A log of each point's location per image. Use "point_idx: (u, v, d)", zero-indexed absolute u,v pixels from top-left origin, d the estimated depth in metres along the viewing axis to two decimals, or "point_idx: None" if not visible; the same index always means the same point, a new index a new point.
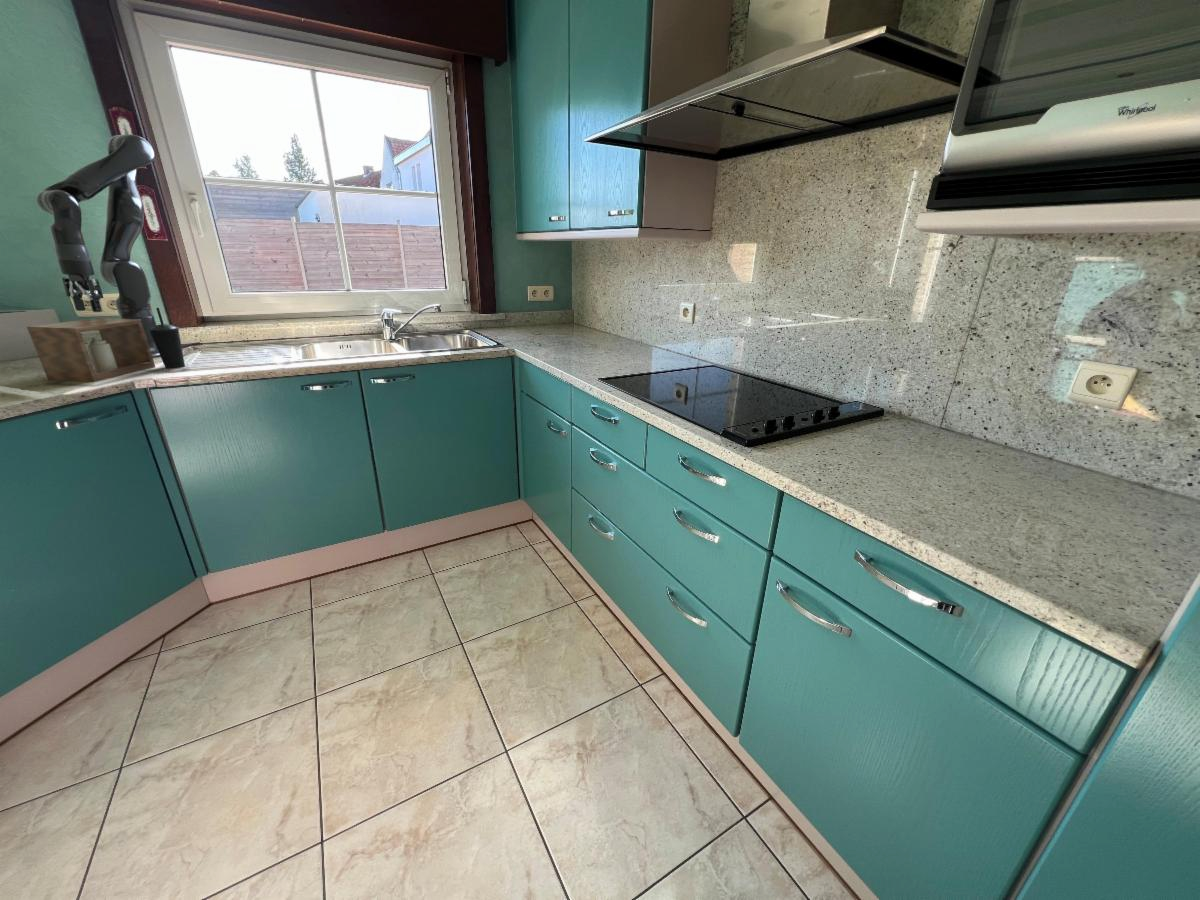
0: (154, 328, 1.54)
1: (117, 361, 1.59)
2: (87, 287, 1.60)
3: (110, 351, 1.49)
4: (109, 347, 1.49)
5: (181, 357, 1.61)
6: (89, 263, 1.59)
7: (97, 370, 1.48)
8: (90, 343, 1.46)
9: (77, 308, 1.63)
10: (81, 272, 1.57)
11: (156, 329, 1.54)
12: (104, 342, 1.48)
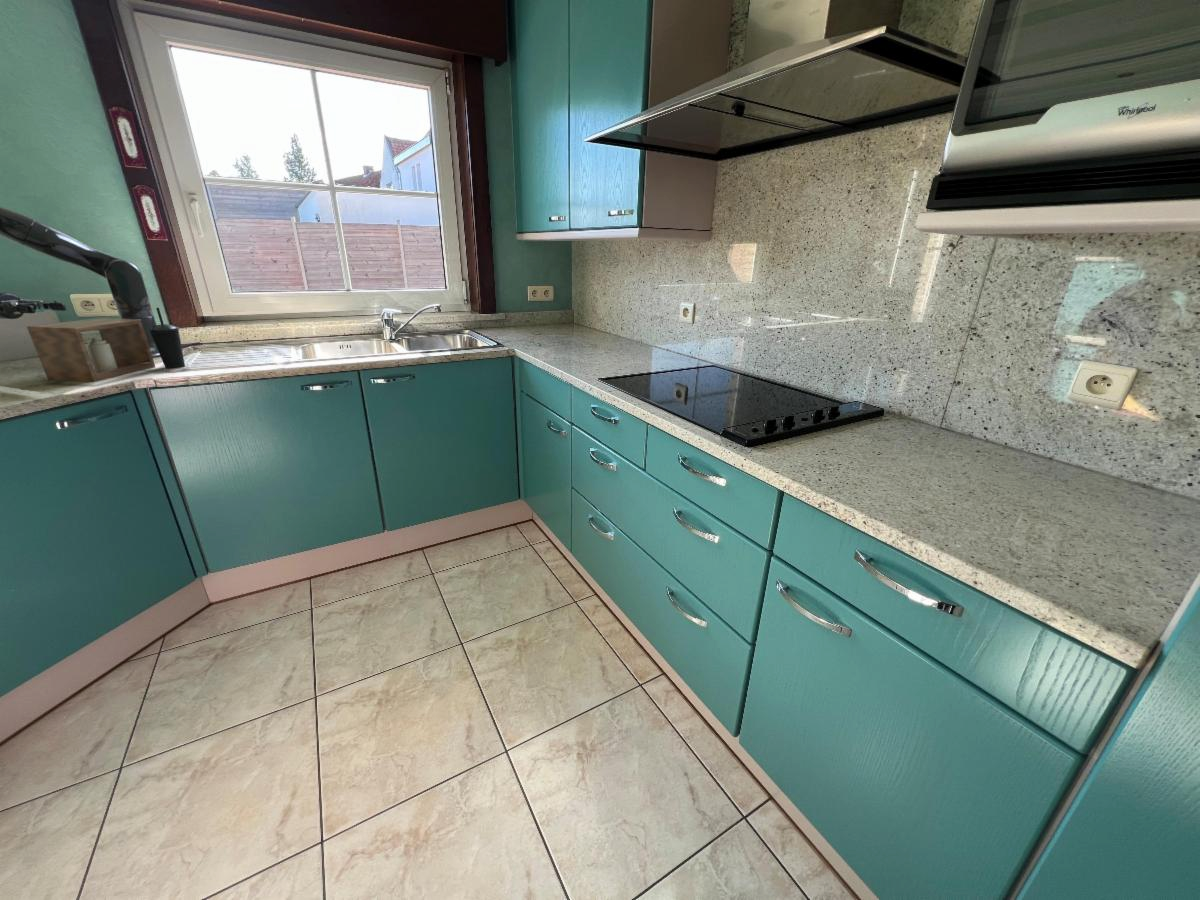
0: (154, 328, 1.54)
1: (117, 361, 1.59)
2: None
3: (110, 351, 1.49)
4: (109, 347, 1.49)
5: (181, 357, 1.61)
6: None
7: (97, 370, 1.48)
8: (90, 343, 1.46)
9: (62, 310, 1.49)
10: None
11: (156, 329, 1.54)
12: (104, 342, 1.48)
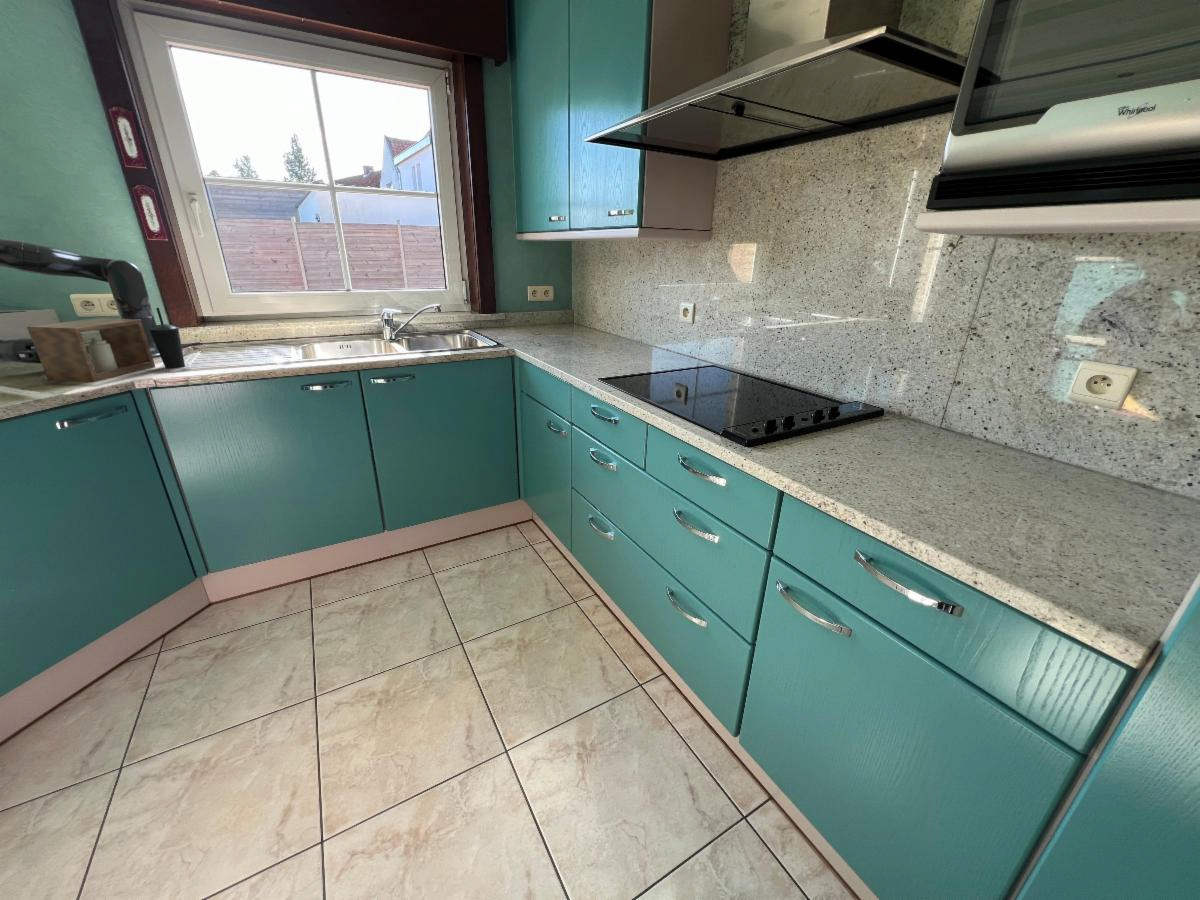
0: (154, 328, 1.54)
1: (117, 361, 1.59)
2: None
3: (110, 351, 1.49)
4: (109, 347, 1.49)
5: (181, 357, 1.61)
6: (14, 345, 1.46)
7: (97, 370, 1.48)
8: (90, 343, 1.46)
9: (88, 352, 1.53)
10: None
11: (156, 329, 1.54)
12: (104, 342, 1.48)
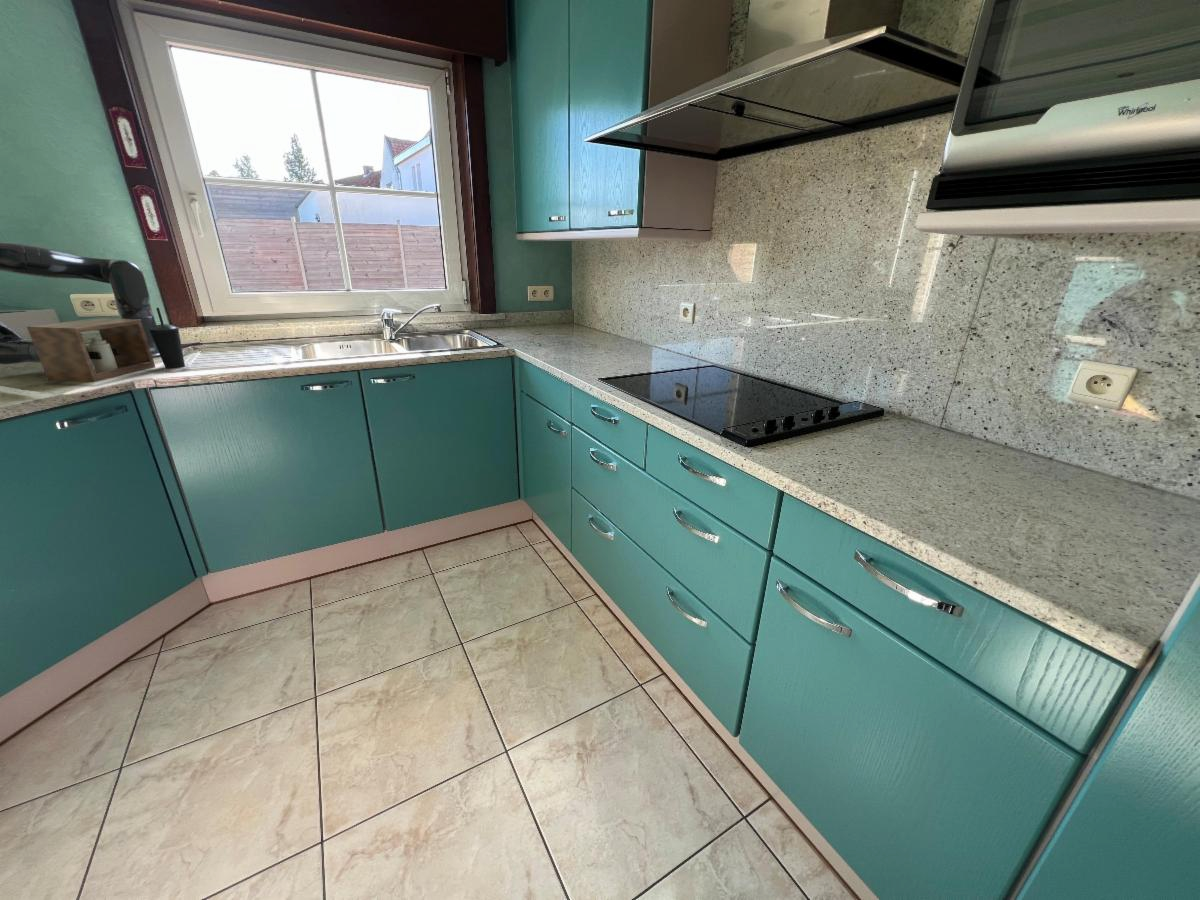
0: (154, 328, 1.54)
1: (117, 361, 1.59)
2: None
3: (110, 351, 1.49)
4: (109, 347, 1.49)
5: (181, 357, 1.61)
6: None
7: (97, 370, 1.48)
8: (90, 343, 1.46)
9: (116, 355, 1.52)
10: None
11: (156, 329, 1.54)
12: (104, 342, 1.48)
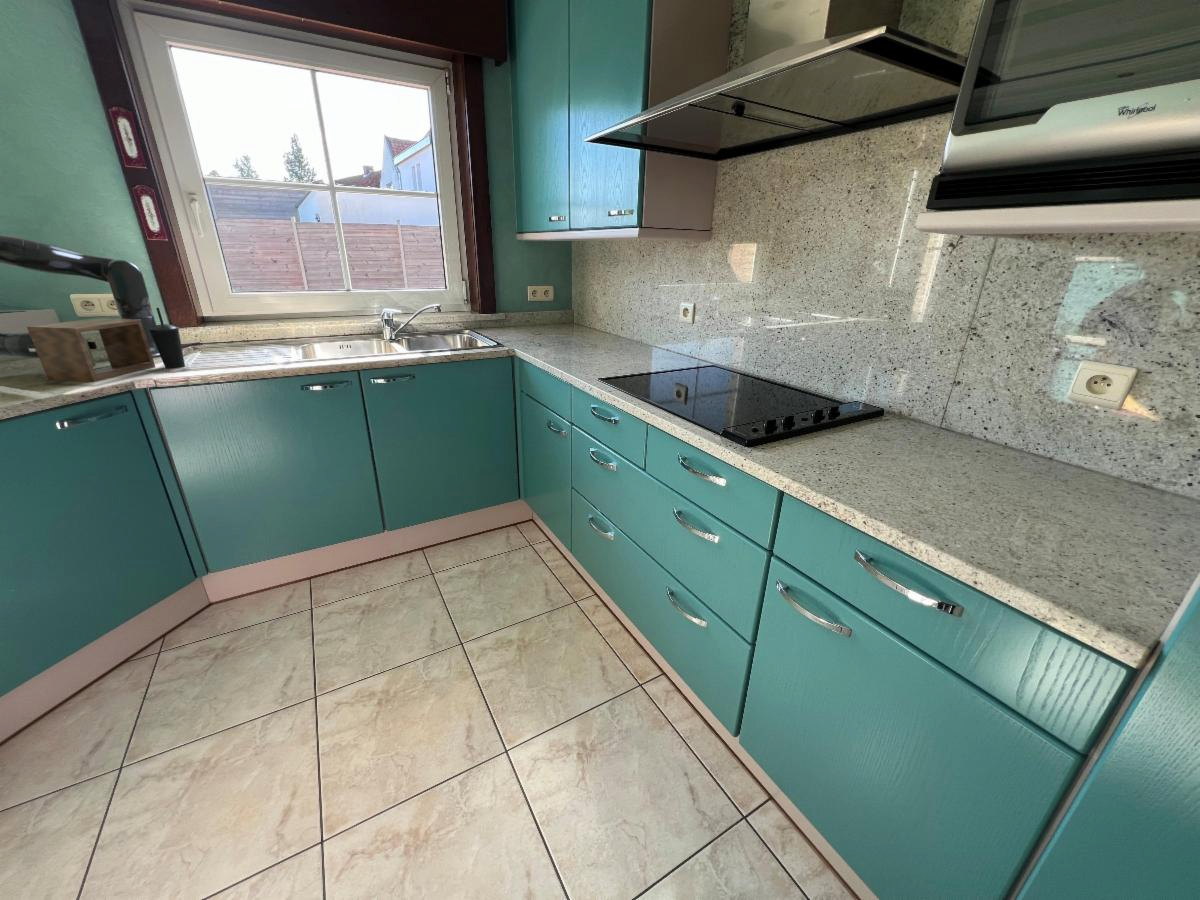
0: (154, 328, 1.54)
1: (117, 361, 1.59)
2: None
3: (86, 344, 1.49)
4: (85, 340, 1.49)
5: (181, 357, 1.61)
6: (20, 340, 1.45)
7: None
8: None
9: (92, 348, 1.51)
10: None
11: (156, 329, 1.54)
12: None
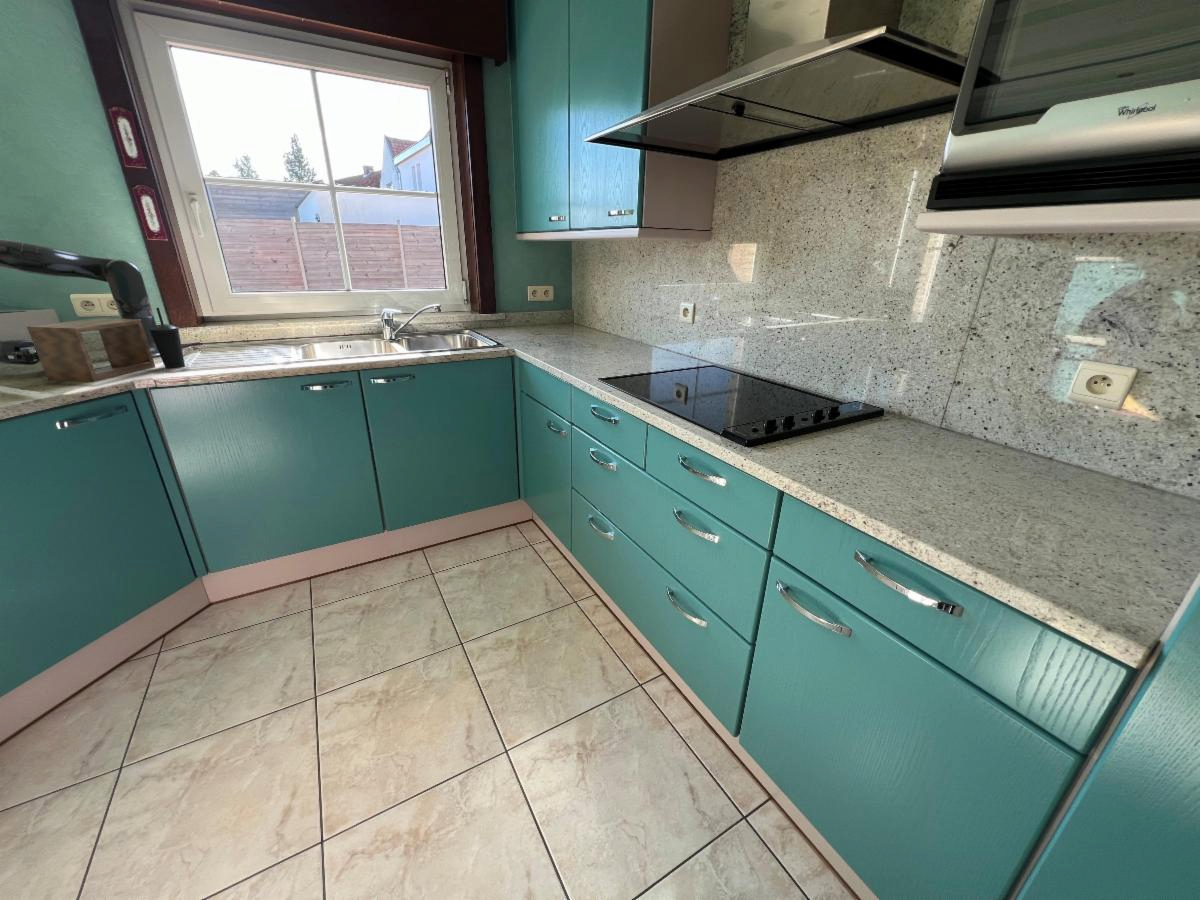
0: (154, 328, 1.54)
1: (117, 361, 1.59)
2: None
3: None
4: None
5: (181, 357, 1.61)
6: (3, 347, 1.46)
7: None
8: None
9: None
10: None
11: (156, 329, 1.54)
12: None
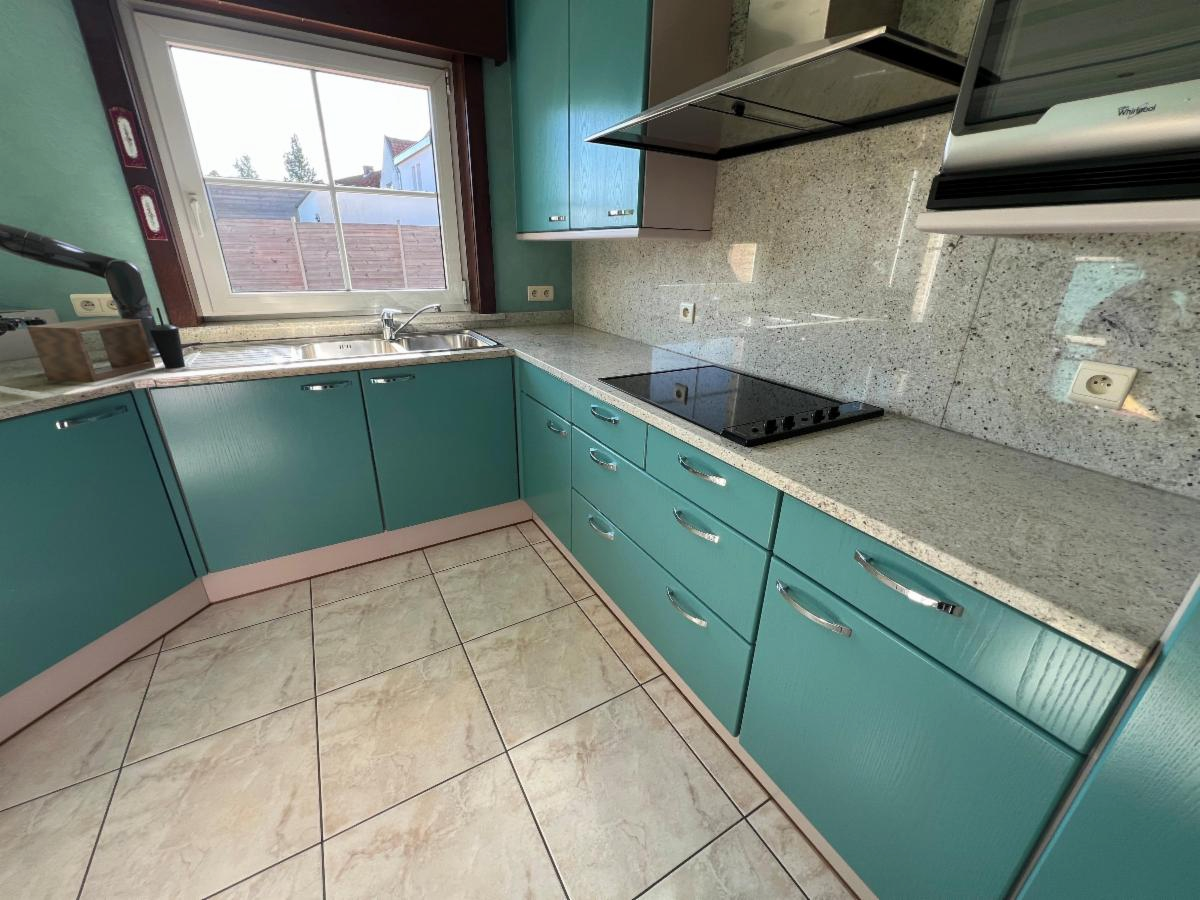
0: (154, 328, 1.54)
1: (117, 361, 1.59)
2: None
3: None
4: None
5: (181, 357, 1.61)
6: None
7: None
8: None
9: None
10: None
11: (156, 329, 1.54)
12: None
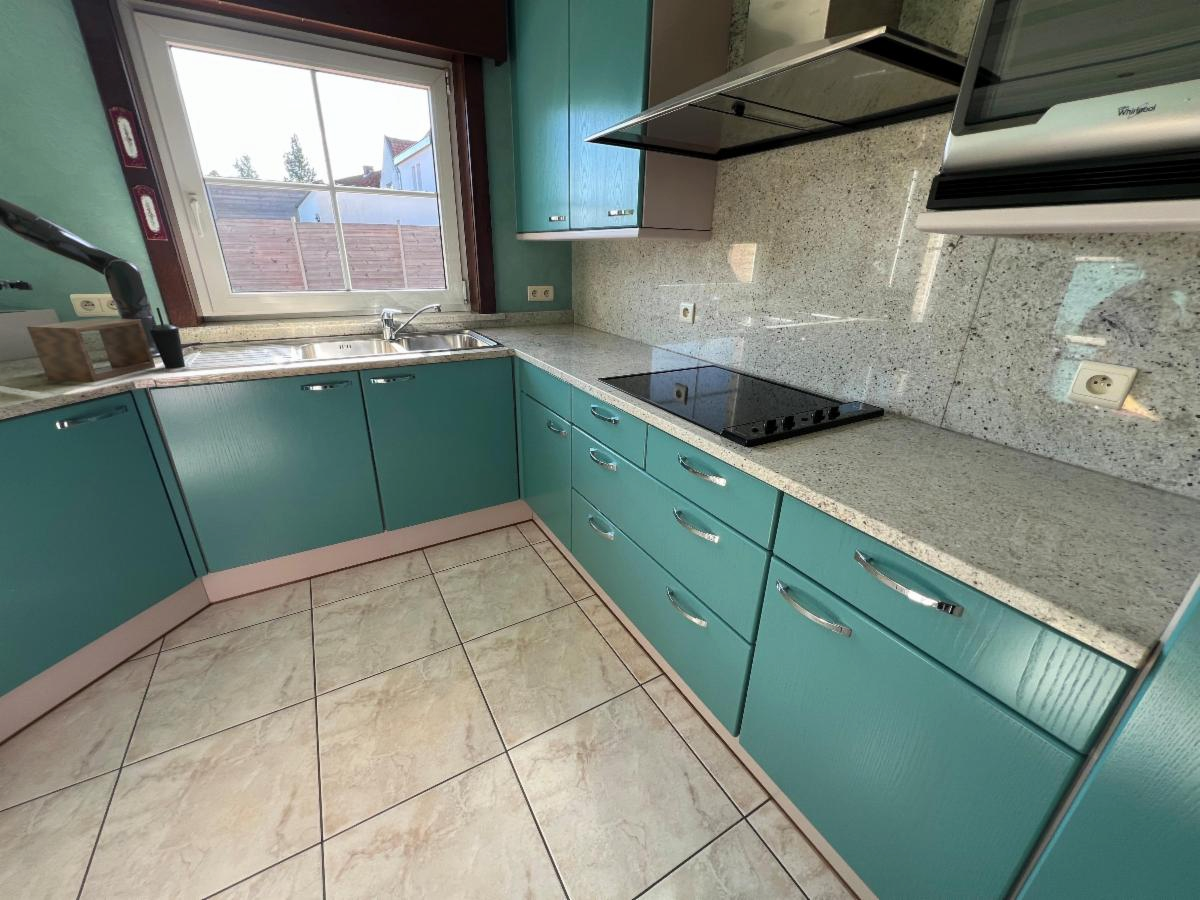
0: (154, 328, 1.54)
1: (117, 361, 1.59)
2: None
3: None
4: None
5: (181, 357, 1.61)
6: None
7: None
8: None
9: (28, 289, 1.47)
10: None
11: (156, 329, 1.54)
12: None
